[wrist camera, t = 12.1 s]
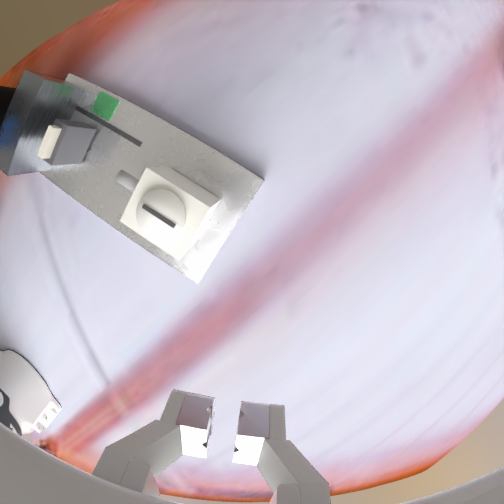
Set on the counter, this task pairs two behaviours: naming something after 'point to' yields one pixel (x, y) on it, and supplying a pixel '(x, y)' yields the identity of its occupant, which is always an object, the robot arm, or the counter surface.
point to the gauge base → (121, 158)
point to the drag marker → (66, 142)
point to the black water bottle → (5, 101)
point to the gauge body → (167, 208)
